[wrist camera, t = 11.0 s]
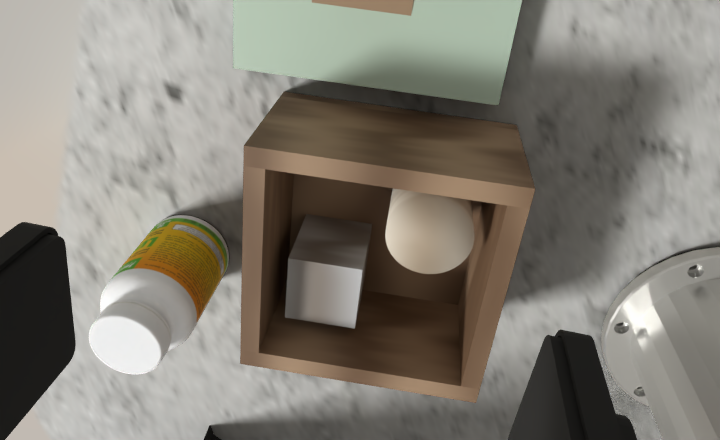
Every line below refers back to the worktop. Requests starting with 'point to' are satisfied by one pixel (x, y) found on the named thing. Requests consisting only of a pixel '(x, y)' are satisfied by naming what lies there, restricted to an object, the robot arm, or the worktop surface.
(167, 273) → the supplement bottle
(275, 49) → the lid
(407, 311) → the storage box
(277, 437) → the worktop surface
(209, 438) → the protein powder
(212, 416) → the worktop surface
